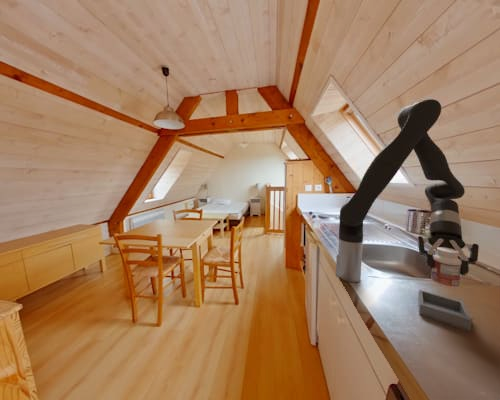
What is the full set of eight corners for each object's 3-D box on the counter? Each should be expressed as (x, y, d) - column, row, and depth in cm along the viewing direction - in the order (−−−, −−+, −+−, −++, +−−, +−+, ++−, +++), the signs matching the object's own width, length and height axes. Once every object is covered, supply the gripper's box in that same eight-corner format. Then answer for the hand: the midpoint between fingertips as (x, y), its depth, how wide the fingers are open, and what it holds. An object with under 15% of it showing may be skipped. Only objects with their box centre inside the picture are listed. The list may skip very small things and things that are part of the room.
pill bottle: (430, 276, 63) (433, 244, 62) (457, 282, 58) (461, 249, 57) (431, 283, 58) (434, 249, 57) (460, 291, 54) (464, 255, 53)
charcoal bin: (419, 314, 59) (420, 304, 58) (418, 298, 67) (418, 289, 66) (470, 332, 52) (471, 320, 51) (462, 312, 60) (463, 301, 59)
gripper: (417, 217, 67) (416, 258, 59) (480, 222, 57) (487, 273, 50) (416, 228, 71) (414, 268, 63) (473, 235, 62) (480, 283, 54)
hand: (446, 270), depth 57 cm, fingers closed on pill bottle, 6 cm apart
